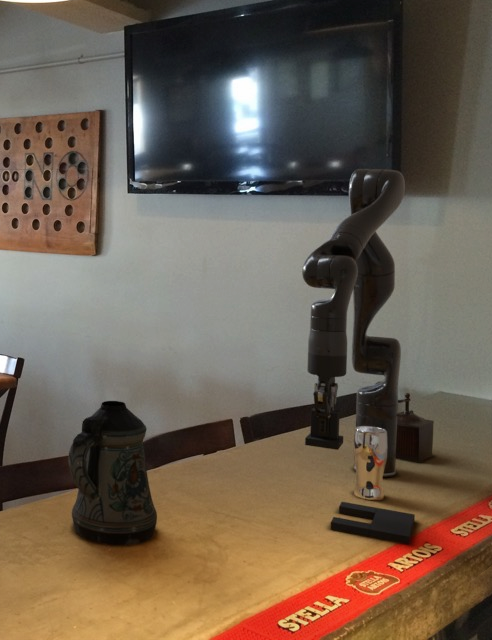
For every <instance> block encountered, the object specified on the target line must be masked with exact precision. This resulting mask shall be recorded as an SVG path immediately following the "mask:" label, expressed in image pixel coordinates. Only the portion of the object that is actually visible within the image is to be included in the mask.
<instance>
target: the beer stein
mask: <svg viewBox="0 0 492 640" xmlns="http://www.w3.org/2000/svg"><path fill="white" fill-rule="evenodd" d="M146 432H147V426H146V424H144V422H143V420H141V419H140V418H139V417H138V416H137V415H135V414H134V412H132V411H131V410H129V408H128V407H127V405H126V402H124V401H120V400H105V401H103V402H101V404H100V407H99V408H98V409H97V410H96V411H95V412H94V413H93V414H92V415H91V416H88V417H85V418H84V419H83V421H82V423H81V432H80V433H78V434H77V435H76V436H75V437H74V438H73V440H72V443H71V445H70V448H69V451H68V459H67V462H68V469H69V473H70V475H71V478H72V480H73V483H74V484H75V486H76V487H77V488H78V491H77V495H76V499H75V502H74V504H73V506H72V508H71V518H72V522H73V528H74V531H75V533H76V534H77V535H78V536H80V537H82V538H83V539H85V540H87V541H89V542H92V543H97V544H102V545H108V546H132V545H139V544H142V543H145V542H147V541H149V540H150V539H152V538H153V536H154V534H155V531H156V525H157V523H158V522H157V521H158V513H157V510H156V507H155V505H154V501H153V497H152V492H151V489H150V482H149V477H148V470H147V462H146V455H145V448H144V447H145V446H144V439H145V437H146V434H147V433H146Z"/></svg>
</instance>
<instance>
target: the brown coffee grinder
mask: <svg viewBox="0 0 492 640" xmlns="http://www.w3.org/2000/svg"><path fill="white" fill-rule="evenodd" d="M382 381H383V380H381V381H380V380H379V381H377V382H376V383H374V385H375V384H378V383H380V382H382ZM410 397H411V394H410V393H409V392H406V393H404V398H403V399H398V404H403V403H405V405H404V408H405V409H404V411H401V412H397V440H396V459H399V460H403V461H409V462H413V463H422V462H423V461H426V460H427V459H429V458H432V457H433V445H434V425H435V424H434V420H430V419H425V418H424V417H422V416H419V415H418V414H416V413H414V410H413V409H411V410H410V402H411V401H412V400H411V398H410Z"/></svg>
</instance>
